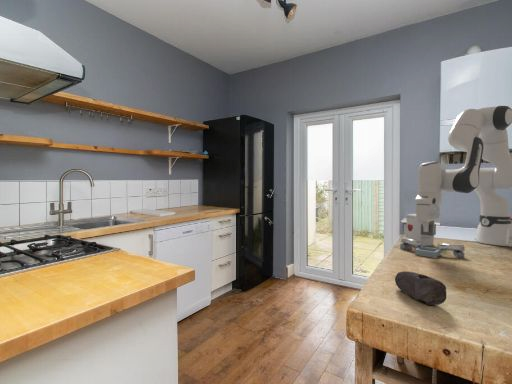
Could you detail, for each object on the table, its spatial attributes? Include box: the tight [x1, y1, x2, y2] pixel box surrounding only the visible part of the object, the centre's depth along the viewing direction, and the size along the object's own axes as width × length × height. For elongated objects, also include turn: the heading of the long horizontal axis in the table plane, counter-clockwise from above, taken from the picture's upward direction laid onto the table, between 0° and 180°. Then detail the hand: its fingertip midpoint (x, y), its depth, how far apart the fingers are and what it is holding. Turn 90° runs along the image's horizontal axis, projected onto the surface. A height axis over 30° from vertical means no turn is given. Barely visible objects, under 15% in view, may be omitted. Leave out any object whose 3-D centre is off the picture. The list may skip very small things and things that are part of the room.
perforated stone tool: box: [394, 270, 448, 306], centre depth 76 cm, size 15×5×7 cm, turn 14°
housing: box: [414, 246, 442, 259], centre depth 120 cm, size 8×8×2 cm
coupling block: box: [421, 222, 437, 237], centre depth 119 cm, size 4×4×5 cm
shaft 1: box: [399, 237, 422, 250], centre depth 128 cm, size 9×4×5 cm, turn 18°
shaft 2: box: [437, 243, 466, 259], centre depth 117 cm, size 9×4×5 cm, turn 73°
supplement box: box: [405, 213, 435, 247], centre depth 140 cm, size 9×9×15 cm
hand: (428, 230), depth 119 cm, fingers closed on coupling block, 4 cm apart
